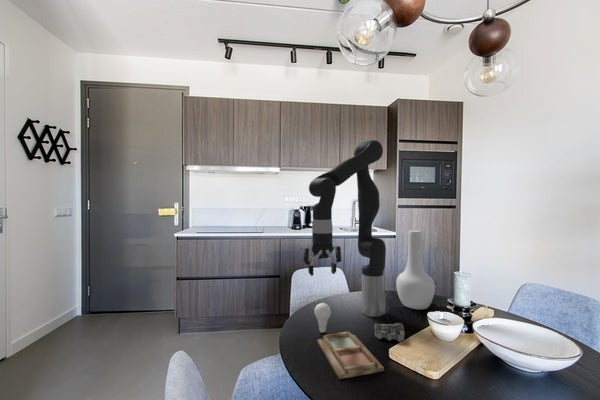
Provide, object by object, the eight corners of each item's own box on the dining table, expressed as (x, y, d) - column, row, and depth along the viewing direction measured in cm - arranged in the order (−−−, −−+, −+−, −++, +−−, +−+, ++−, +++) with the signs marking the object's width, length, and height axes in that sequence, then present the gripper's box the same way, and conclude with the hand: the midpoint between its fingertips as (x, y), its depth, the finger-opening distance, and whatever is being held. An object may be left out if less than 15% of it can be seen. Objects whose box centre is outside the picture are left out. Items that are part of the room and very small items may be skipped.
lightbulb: (330, 337, 99) (329, 307, 99) (313, 335, 100) (313, 306, 100) (331, 329, 105) (331, 301, 105) (315, 328, 106) (315, 300, 106)
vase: (398, 310, 122) (398, 232, 122) (394, 296, 139) (394, 228, 138) (439, 313, 119) (439, 233, 118) (429, 299, 135) (429, 229, 134)
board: (354, 337, 99) (353, 330, 99) (383, 371, 80) (383, 362, 80) (317, 342, 96) (317, 335, 96) (339, 379, 76) (339, 370, 76)
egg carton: (404, 334, 102) (404, 323, 102) (404, 344, 95) (404, 332, 95) (374, 329, 105) (374, 318, 105) (373, 338, 98) (373, 327, 98)
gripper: (336, 229, 107) (336, 270, 108) (301, 230, 104) (301, 272, 104) (343, 231, 100) (344, 275, 100) (306, 233, 97) (306, 278, 97)
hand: (322, 274), depth 102 cm, fingers open, 8 cm apart
